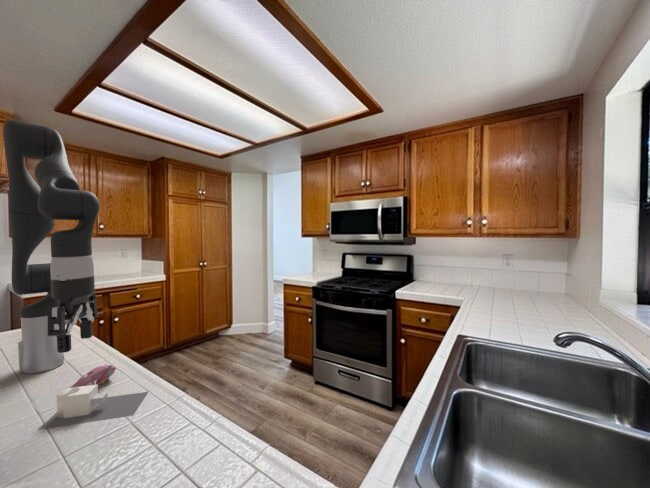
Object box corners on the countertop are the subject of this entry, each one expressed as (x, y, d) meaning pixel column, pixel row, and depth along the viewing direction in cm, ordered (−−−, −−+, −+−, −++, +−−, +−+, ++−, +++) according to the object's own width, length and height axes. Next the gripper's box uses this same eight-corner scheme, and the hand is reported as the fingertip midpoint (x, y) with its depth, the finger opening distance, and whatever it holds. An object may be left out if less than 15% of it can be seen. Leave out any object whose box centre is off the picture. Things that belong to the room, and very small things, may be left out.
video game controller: (77, 404, 73) (86, 382, 72) (64, 395, 73) (73, 372, 73) (112, 384, 82) (121, 364, 82) (101, 376, 83) (109, 356, 82)
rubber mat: (38, 431, 60) (37, 429, 60) (67, 404, 70) (67, 402, 70) (133, 417, 65) (133, 415, 65) (148, 393, 75) (148, 391, 75)
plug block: (53, 419, 64) (52, 398, 63) (64, 409, 67) (63, 388, 67) (101, 412, 66) (100, 391, 66) (109, 402, 70) (109, 383, 70)
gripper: (72, 272, 71) (75, 335, 72) (29, 281, 57) (33, 359, 58) (107, 271, 73) (109, 332, 74) (73, 279, 59) (76, 355, 60)
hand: (76, 344), depth 66 cm, fingers open, 8 cm apart
